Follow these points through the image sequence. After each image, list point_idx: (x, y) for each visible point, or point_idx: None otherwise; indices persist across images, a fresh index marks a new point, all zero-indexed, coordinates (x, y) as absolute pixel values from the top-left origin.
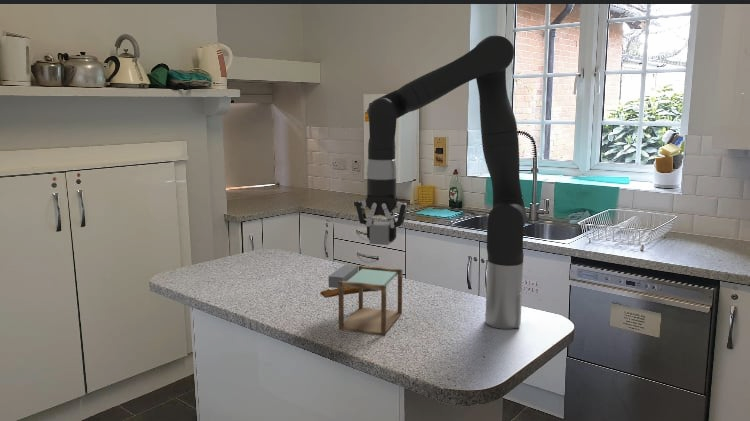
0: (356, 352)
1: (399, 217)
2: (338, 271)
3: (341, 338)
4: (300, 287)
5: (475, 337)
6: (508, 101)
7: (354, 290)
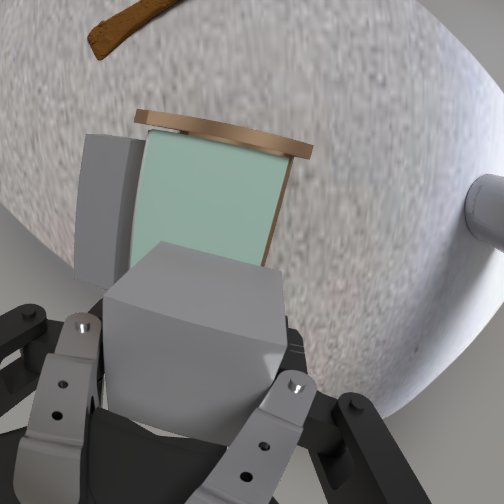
0: None
1: (334, 490)
2: (83, 224)
3: None
4: (51, 23)
5: (430, 279)
6: None
7: (161, 10)
